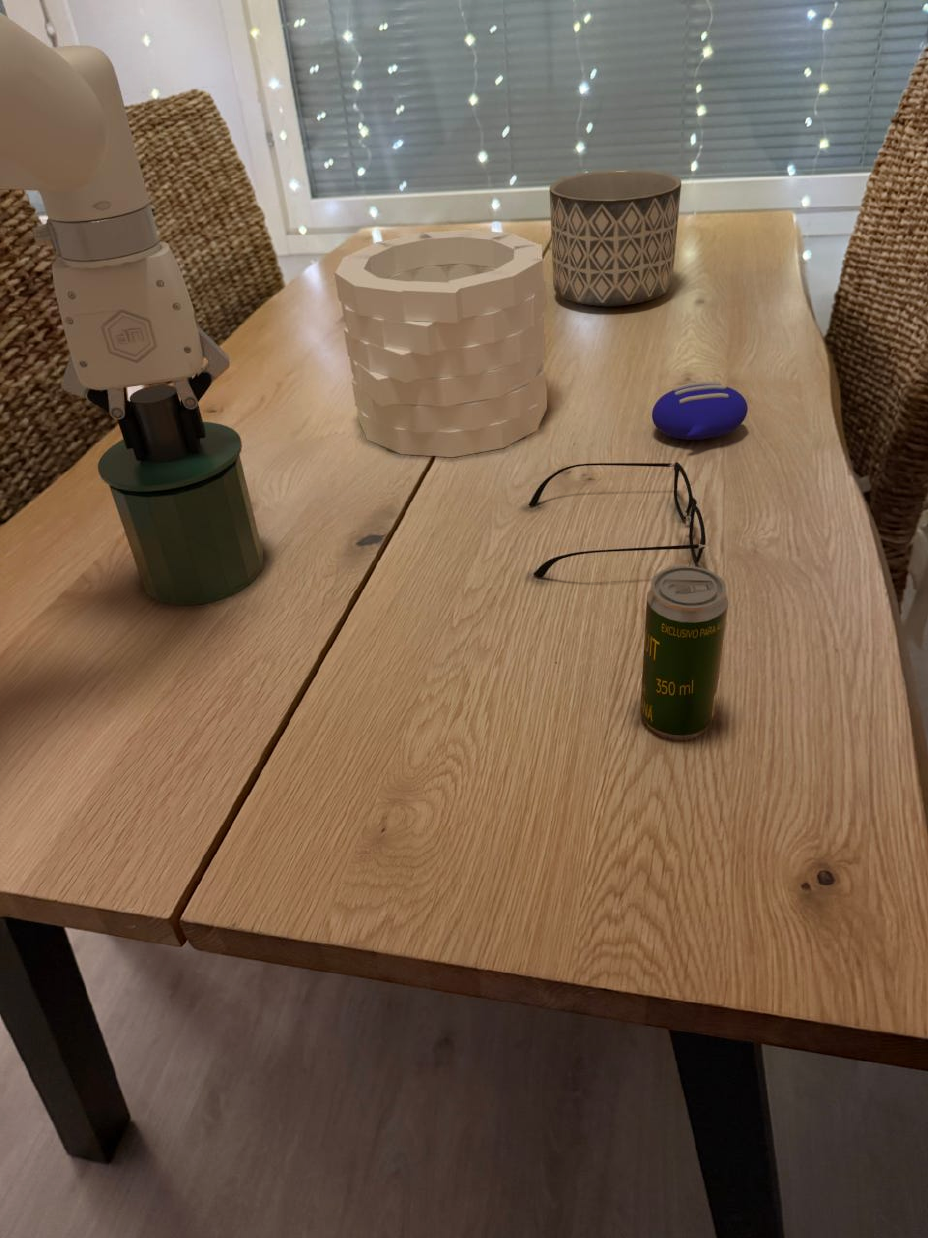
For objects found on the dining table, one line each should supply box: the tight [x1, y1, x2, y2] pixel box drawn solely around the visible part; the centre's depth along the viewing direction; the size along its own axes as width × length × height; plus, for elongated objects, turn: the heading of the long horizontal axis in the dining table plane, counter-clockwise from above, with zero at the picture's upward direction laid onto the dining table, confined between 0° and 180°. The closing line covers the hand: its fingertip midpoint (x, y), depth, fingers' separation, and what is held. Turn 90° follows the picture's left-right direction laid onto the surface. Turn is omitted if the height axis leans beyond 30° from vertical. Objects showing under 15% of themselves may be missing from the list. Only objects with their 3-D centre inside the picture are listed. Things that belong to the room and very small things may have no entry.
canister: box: [108, 454, 265, 606], centre depth 86 cm, size 12×12×12 cm
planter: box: [549, 168, 682, 308], centre depth 141 cm, size 19×19×16 cm
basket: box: [334, 229, 548, 458], centre depth 109 cm, size 25×24×19 cm
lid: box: [97, 384, 243, 491], centre depth 81 cm, size 13×13×7 cm
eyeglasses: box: [528, 461, 707, 578], centre depth 88 cm, size 16×16×4 cm
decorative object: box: [651, 380, 749, 441], centre depth 103 cm, size 10×6×10 cm
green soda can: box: [639, 565, 729, 741], centre depth 65 cm, size 5×5×12 cm
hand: (168, 447), depth 82 cm, fingers closed on lid, 4 cm apart
